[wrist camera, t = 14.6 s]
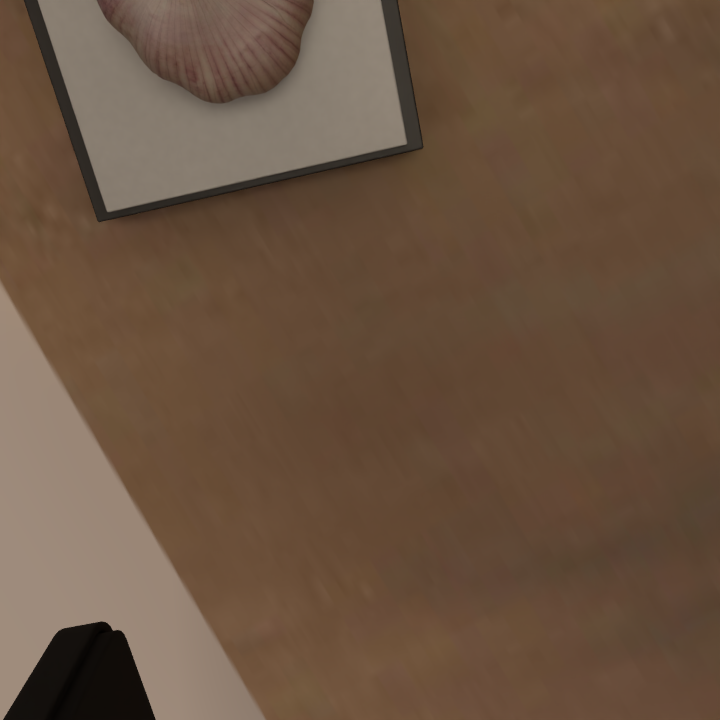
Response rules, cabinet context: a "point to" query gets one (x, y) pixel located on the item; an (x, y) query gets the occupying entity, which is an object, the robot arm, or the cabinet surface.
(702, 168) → the cabinet surface
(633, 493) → the cabinet surface
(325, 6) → the scale
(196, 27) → the garlic bulb
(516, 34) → the cabinet surface
